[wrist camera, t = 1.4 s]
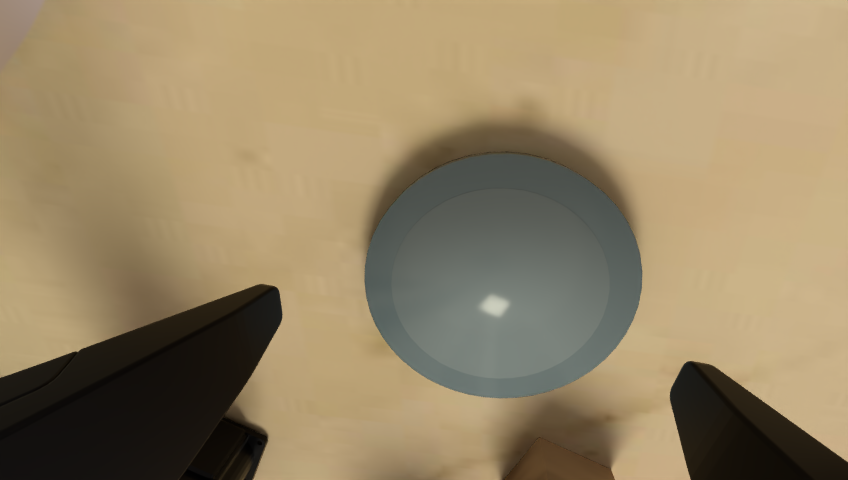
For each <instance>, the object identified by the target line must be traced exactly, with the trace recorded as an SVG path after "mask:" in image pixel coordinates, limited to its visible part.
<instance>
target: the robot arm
mask: <svg viewBox="0 0 848 480" xmlns="http://www.w3.org/2000/svg"><path fill="white" fill-rule="evenodd" d="M281 321H282V307H281V300H280V293H279V290H278V288H277V287H275V286H271V285H265V284H259V285H256V286H253V287H250V288H248V289H245V290H242V291H239V292H237V293H234V294H231V295H228V296H226V297H223V298H220V299H217V300H215V301H212V302H209V303H206V304H204V305H201V306H198V307H196V308H193V309H190V310H187V311H185V312H182V313H179V314H176V315H174V316H171V317H168V318H165V319H163V320H160V321H157V322H154V323H152V324H149V325H146V326H143V327H141V328H138V329H135V330H133V331H130V332H127V333H124V334H122V335H119V336H116V337H113V338H111V339H108V340H105V341H102V342H100V343H97V344H94V345H91V346H89V347H86V348H83V349H81V350H80V351H79V352H72V353H69V354H67V355H64V356H61V357H58V358H56V359H53V360H50V361H47V362H45V363H42V364H39V365H36V366H33V367H30V368H28V369H25V370H22V371H19V372H16V373H13V374H11V375H7V376H4V377H1V378H0V480H253V479H254V476H255V474H256V471H257V468H258V466H259V463H260V460H261V458H262V455H263V452H264V450H265V447H266V444H267V442H268V439H267V437H266V436H264V435H262V434H260V433H258V432H255V431H253V430H251V429H248V428H246V427H244V426H242V425H239V424H237V423H235V422H233V421H230V420H228V419H226V418H223V416H224V415H225V413H226V412H227V410H228V409H229V407H230V406H231V405H232V403H233V402H234V400H235V399H236V397H237V396H238V395H239V393H240V392H241V390H242V389H243V387H244V386H245V384H246V383H247V381H248V380H249V378H250V377H251V375H252V373H253V372H254V370H255V368H256V366H257V365H258V363H259V361H260V359H261V358H262V356H263V354H264V352H265V350H266V349H267V347H268V345H269V343H270V341H271V340H272V338H273V336H274V334H275V333H276V331H277V329H278V327H279V325H280V323H281ZM670 401H671V406H672V410H673V413H674V417H675V421H676V425H677V429H678V433H679V437H680V441H681V445H682V449H683V453H684V457H685V461H686V465H687V468H688V472H689V475H690V479H691V480H848V462H847V461H845V460H844V459H843V458H841V457H840V456H838V455H837V454H836V453H834V452H833V451H831V450H830V449H829V448H827V447H826V446H824V445H823V444H822V443H820V442H819V441H817V440H816V439H815V438H813V437H812V436H810V435H809V434H808V433H806V432H805V431H804V430H802V429H801V428H799V427H798V426H797V425H795V424H794V423H792V422H791V421H790V420H788V419H787V418H785V417H784V416H783V415H781V414H780V413H778V412H777V411H776V410H774V409H773V408H771V407H770V406H769V405H767V404H766V403H764V402H763V401H762V400H760V399H759V398H758V397H756V396H755V395H753V394H752V393H751V392H749V391H748V390H746V389H745V388H744V387H742V386H741V385H739V384H738V383H737V382H735V381H734V380H732V379H731V378H730V377H728V376H727V375H725V374H724V373H723V372H721V371H720V370H719V369H717V368H716V367H714V366H712V365H710V364H705V363H700V362H694V361H688V362H686V363H685V364H684V365H683V367H682V369H681V371H680V372H679V374H678V376H677V378H676V380H675V382H674V384H673V386H672V388H671V391H670Z"/></svg>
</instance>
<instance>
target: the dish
mask: <svg viewBox="0 0 848 480" xmlns="http://www.w3.org/2000/svg"><path fill="white" fill-rule="evenodd" d="M365 289H366V297H367V301H368V305H369V309H370V312H371V315H372V317H373V320H374V322H375V324H376V326H377V328H378V330H379V332H380V333H381V335H382V337H383V338H384V340H385V341H386V342H387V344H388V345H389V346H390V348H391V349H392V350H393V351H394V352H395V353H396V354H397V355H398V356H399V357H400V358H401V360H403V361H404V362H405V363H406V364H407V365H409V366H410V367H411V368H412V369H413V370H415V371H416V372H418V373H419V374H421V375H422V376H424V377H425V378H427V379H429V380H431V381H433V382H435V383H437V384H439V385H441V386H444V387H446V388H449V389H452V390H454V391H458V392H462V393H465V394H469V395H475V396H481V397H490V398H517V397H525V396H532V395H536V394H540V393H545V392H548V391H551V390H554V389H557V388H560V387H562V386H565V385H567V384H569V383H571V382H573V381H575V380H577V379H579V378H580V377H582V376H583V375H585V374H587V373H588V372H590V371H591V370H593V369H594V368H595V367H596V366H598V365H599V364H600V363H601V362H602V361H604V360H605V359H606V358H607V357H608V356H609V354H610V353H611V352H612V351H613V350H614V349H615V348H616V347H617V345H618V344H619V343H620V341H621V340H622V339H623V337H624V336H625V334H626V332H627V331H628V329H629V327H630V325H631V323H632V321H633V319H634V316H635V313H636V310H637V308H638V305H639V300H640V294H641V289H642V266H641V258H640V252H639V249H638V246H637V242H636V239H635V236H634V234H633V232H632V230H631V228H630V226H629V224H628V222H627V220H626V219H625V217H624V216H623V214H622V213H621V212H620V210H619V209H618V207H617V206H616V205H615V204H614V203H613V202H612V201H611V200H610V198H609V197H608V196H607V195H606V194H605V193H604V192H603V191H601V190H600V189H599V188H597V187H596V186H595V185H594V184H592V183H591V182H590V181H588V180H587V179H586V178H584V177H583V176H581V175H580V174H578V173H576V172H574V171H573V170H571V169H569V168H567V167H566V166H564V165H561V164H559V163H556V162H554V161H551V160H549V159H546V158H542V157H538V156H534V155H530V154H524V153H515V152H487V153H481V154H475V155H469V156H466V157H462V158H459V159H455V160H452V161H450V162H448V163H445V164H443V165H441V166H439V167H436V168H434V169H433V170H431V171H429V172H428V173H426V174H425V175H423V176H421V177H420V178H419V179H417V180H416V181H415V182H414V183H412V184H411V185H410V186H409V187H408V188H406V190H405V191H404V192H403V193H402V194H401V195H400V196H399V197H398V198H397V199H396V200H395V202H394V203H393V204H392V205H391V206H390V208H389V209H388V211H387V212H386V213H385V215H384V216H383V218H382V219H381V221H380V222H379V224H378V226H377V228H376V230H375V232H374V234H373V237H372V240H371V243H370V246H369V249H368V253H367V258H366V264H365Z"/></svg>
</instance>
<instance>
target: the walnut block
mask: <svg viewBox="0 0 848 480" xmlns="http://www.w3.org/2000/svg"><path fill="white" fill-rule="evenodd" d="M504 480H615V479H614V476H613V473H612V471H611V469H609V468H607V467H605V466H602V465H600V464H598V463H596V462H594V461H591V460H589V459H587V458H585V457H582V456H580V455H578V454H576V453H574V452H571V451H569V450H567V449H565V448H562V447H560V446H558V445H556V444H553V443H551V442H549V441H547V440H545V439H542V438H540V437H539V438H538V439H537V441H536V442H535V443H534V444H533V445H532V447H531V448H530V449H529V450H528V451H527V453H526V454H525V455H524V456H523V457H522V459H521V460H520V461H519V462H518V464H517V465H516V466H515V467H514V468H513V470H512V471H511V472H510V473H509V474H508V476H507V477H506V478H505V479H504Z"/></svg>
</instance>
